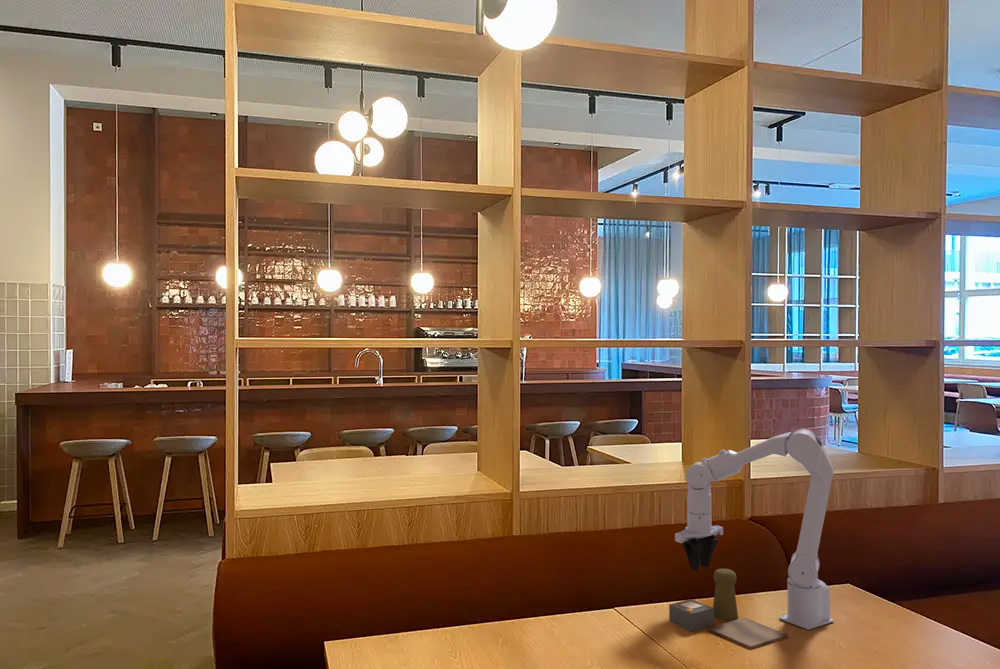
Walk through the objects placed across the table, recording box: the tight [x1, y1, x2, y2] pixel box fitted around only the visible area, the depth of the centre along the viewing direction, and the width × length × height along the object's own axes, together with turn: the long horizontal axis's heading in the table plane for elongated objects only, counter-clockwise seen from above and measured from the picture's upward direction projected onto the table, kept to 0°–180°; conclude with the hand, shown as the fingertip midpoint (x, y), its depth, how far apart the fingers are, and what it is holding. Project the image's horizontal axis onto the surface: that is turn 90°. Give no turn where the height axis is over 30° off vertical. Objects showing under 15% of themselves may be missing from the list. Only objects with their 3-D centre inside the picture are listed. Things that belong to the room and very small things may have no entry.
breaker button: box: [681, 602, 702, 610], centre depth 177 cm, size 3×3×3 cm
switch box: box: [668, 598, 715, 632], centre depth 177 cm, size 7×7×4 cm
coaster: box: [707, 617, 789, 650], centre depth 171 cm, size 12×12×1 cm
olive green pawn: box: [712, 568, 739, 622], centre depth 181 cm, size 6×6×11 cm
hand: (699, 567), depth 188 cm, fingers open, 3 cm apart
